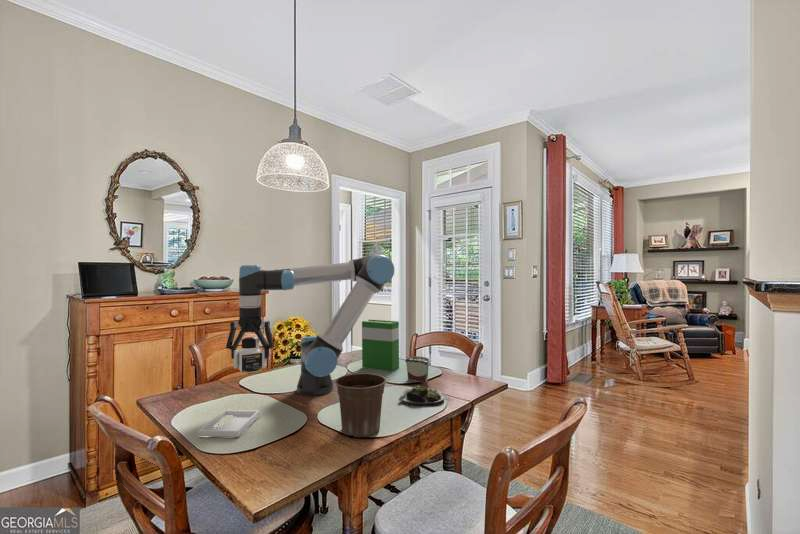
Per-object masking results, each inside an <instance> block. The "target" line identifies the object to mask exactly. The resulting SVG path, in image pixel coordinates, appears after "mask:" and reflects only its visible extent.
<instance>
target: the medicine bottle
mask: <svg viewBox="0 0 800 534" xmlns="http://www.w3.org/2000/svg"><path fill="white" fill-rule="evenodd" d="M238 370H239V372H240V373H241V374H242V375H243V374H244V375H245V374H249V373H250V374H251V373H258V372H262V371H263V368H262V350H261V349H260V340H259V338H258V337H256V336H255V337H254V336H251V337H250V336H249V337H243V338H242V339H241V349H239V367H238Z"/></svg>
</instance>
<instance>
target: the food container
mask: <svg viewBox="0 0 800 534" xmlns="http://www.w3.org/2000/svg"><path fill="white" fill-rule="evenodd" d="M404 361H405V363H406V373H407V380H408V381H412V380H414V382H417V381H418V383H422V384H423V383H424V384H427V382H428V376H429V366H430V365H431V362H430V361H431V360H430V359H429V358H428V357H425V356H409V357H405V360H404Z"/></svg>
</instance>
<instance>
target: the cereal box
mask: <svg viewBox="0 0 800 534" xmlns="http://www.w3.org/2000/svg"><path fill="white" fill-rule="evenodd" d="M399 325H400V323H399V321H397V320H396V321H395V320H382V319H368V320H367V321H365V320H363V321H361V352H362V353H361V356H362V357H361V360H362V362H361V367H364V369H369V368H371V369H370V370H378V371H383V372H385V371H386V372H394V371H396V370H398V369H399V368H400V328H399V327H400V326H399Z"/></svg>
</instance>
